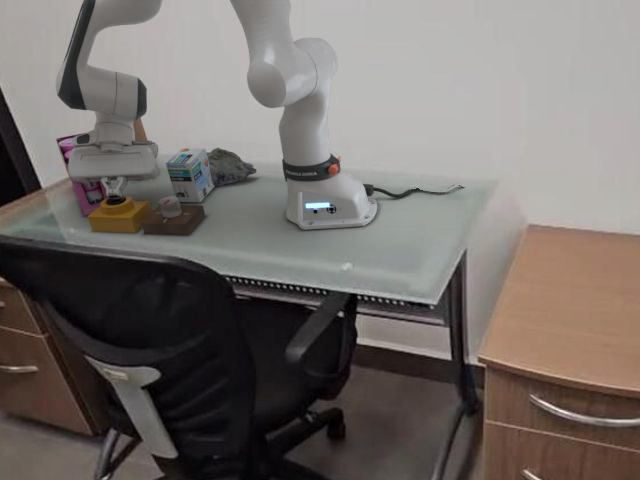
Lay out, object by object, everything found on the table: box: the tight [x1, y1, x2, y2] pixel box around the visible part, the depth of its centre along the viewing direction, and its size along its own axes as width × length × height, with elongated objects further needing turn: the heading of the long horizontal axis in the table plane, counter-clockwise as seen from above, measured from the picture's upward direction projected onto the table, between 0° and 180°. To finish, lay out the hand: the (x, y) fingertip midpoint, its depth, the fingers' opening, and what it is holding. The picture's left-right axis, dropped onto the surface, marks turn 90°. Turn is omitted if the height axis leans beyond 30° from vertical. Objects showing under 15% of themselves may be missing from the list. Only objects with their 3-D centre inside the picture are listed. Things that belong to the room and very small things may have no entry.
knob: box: [158, 195, 182, 218], centre depth 145 cm, size 4×4×4 cm
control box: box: [86, 194, 153, 234], centre depth 148 cm, size 11×9×6 cm
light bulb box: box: [165, 147, 216, 203], centre depth 159 cm, size 11×7×11 cm, turn 175°
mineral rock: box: [206, 147, 258, 187], centre depth 164 cm, size 13×11×10 cm
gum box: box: [55, 132, 109, 216], centre depth 158 cm, size 24×8×14 cm, turn 31°
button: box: [107, 197, 125, 205], centre depth 147 cm, size 4×4×2 cm
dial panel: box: [141, 204, 206, 236], centre depth 147 cm, size 11×10×3 cm
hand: (114, 196), depth 146 cm, fingers closed, pressing on button
